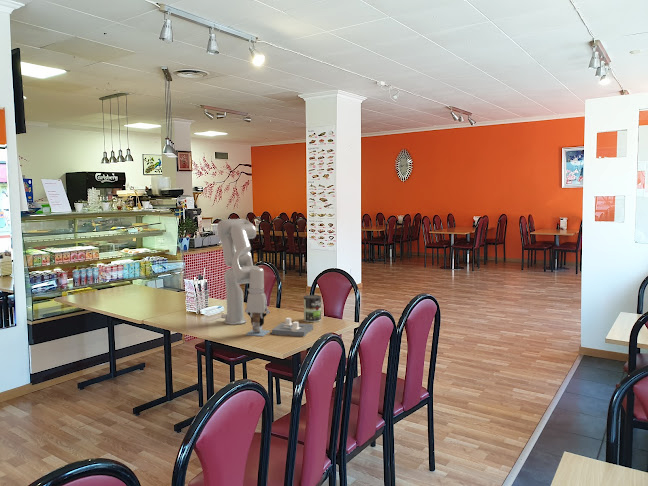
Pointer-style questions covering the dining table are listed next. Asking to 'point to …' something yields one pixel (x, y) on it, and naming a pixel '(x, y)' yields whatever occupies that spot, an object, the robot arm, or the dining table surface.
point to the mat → (257, 333)
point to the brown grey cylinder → (256, 322)
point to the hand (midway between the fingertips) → (257, 324)
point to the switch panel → (287, 330)
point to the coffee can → (312, 308)
